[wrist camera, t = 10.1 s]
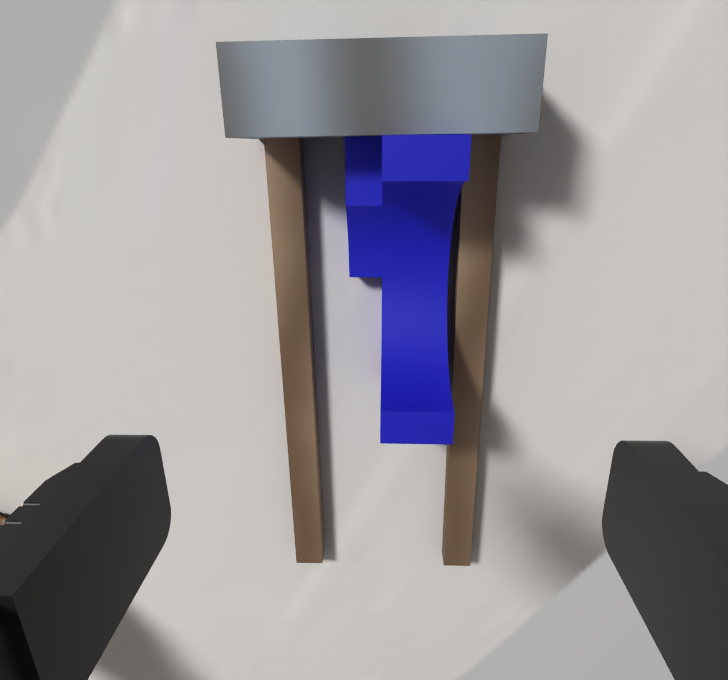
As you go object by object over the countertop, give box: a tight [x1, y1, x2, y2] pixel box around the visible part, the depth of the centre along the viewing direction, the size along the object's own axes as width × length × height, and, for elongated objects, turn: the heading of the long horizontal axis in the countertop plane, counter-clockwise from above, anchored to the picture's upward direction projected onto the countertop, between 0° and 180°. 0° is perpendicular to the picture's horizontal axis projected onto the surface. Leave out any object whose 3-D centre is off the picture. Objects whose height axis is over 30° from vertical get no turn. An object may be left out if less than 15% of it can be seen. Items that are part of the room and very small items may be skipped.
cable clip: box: [345, 134, 471, 444], centre depth 23 cm, size 12×4×6 cm, turn 0°
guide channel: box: [216, 34, 548, 566], centre depth 24 cm, size 11×26×5 cm, turn 1°
